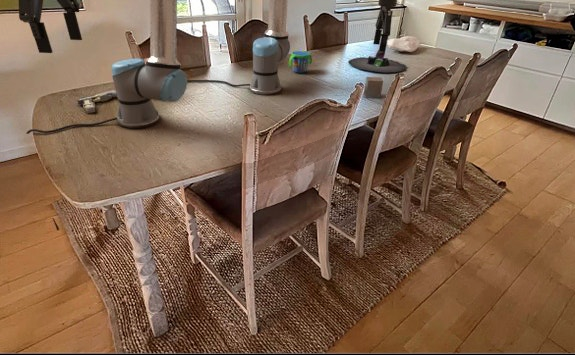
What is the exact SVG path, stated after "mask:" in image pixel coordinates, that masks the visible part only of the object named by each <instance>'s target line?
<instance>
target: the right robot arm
mask: <svg viewBox="0 0 575 355" xmlns="http://www.w3.org/2000/svg"><path fill="white" fill-rule="evenodd" d="M288 2H289V1H288V0H268V20H267V29H266V30H265V31H264V37H258V38H257V39H255V40H254V41H253V43H252V69H253V70H252V77H251V81H250V83H242V84H241V83H240V84H233V83H230V82H228V81H226V80H220V79H219V80H216V79H187V83H191V82H192V83H193V82H194V83H195V82H197V83H199V82H204V83H205V82H206V83H223V84H226V85H228V86H231V87H237V88H238V87H249V91H250V92H251V93H253V94H255V95H261V96H271V95H277V94H279V93H281V92H282V85H281V81H280V78H279V63H280V62H281V61H284V60H285V59H286V58H287V56H288V55H289V53H290V52H291V51H290V50H291V43H290V40H289V33H288V32H287V18H288V17H287V16H288V4H289V3H288ZM397 4H398V0H378V3H377V5H378V6H379V10H378V11H379V12H378V15H377V18H376V22H375V34H374V38H373V45H379V46H378V47H379V48H378V50H379V52H385V53H386V51H387V50H386V49H387V40H389V37H390V36H391V31H392V30H391V29H392V20H393V19H392V18H393V13H394V11H393V10H392V8H396V7H397Z"/></svg>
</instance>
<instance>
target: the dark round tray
mask: <svg viewBox="0 0 575 355" xmlns="http://www.w3.org/2000/svg"><path fill="white" fill-rule="evenodd" d="M385 55H386V51H385V52H379V49H378V50H377V52H376V53H375V55H374V56H371V55H369V56H368V57H365V56H364V57H362V56H360V57H355V58H351V59H349V60H348V61H347V63H348V64H349V65H350V66H352V67H354V68H356V69H358V70H364V71H369V72H376V73H385V74H386V73H399V72H402V71H404V70H406V68H407V65H406V64H404V63H402V62H401V63H400V62H399V61H395V60H392V59H389V58H388V57H385Z"/></svg>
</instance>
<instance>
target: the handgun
mask: <svg viewBox="0 0 575 355" xmlns="http://www.w3.org/2000/svg"><path fill="white" fill-rule="evenodd" d="M113 98H118V97H117V93H116V89H112V90H108V91H105V92H104V91H103V92H101V93H96V94H94V95H86V94H85V95H84V94H83V95H81V96H80V97H77V98H76V101H77V104H78V105H82V108H83V109H84V110H85V113H87V114H91V113H95V112H96V104H95V103H98V102H106V101H109V100H111V99H113Z"/></svg>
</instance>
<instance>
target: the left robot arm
mask: <svg viewBox="0 0 575 355" xmlns="http://www.w3.org/2000/svg"><path fill="white" fill-rule="evenodd" d="M56 2H57V4H59V6H60V7H61V8H62V9H63V10H64V12H62V14H63V18H64V21H65V25H66V28H67V32H68V36H69V40H70V41H82V40H83V37H82V33H81V29H80V26H79V21H78V18H77V13H80V4H79V2H78V0H56ZM43 5H44V0H18V19H19V20H20V21H21V22H23V23H27V24H29V28H30V31H31V33H32V36H33V38H34V41H35V44H36V47H37V50H38V54H39V53H40V54H53V51H54V50H53V48H52V45H51V41H50V39H49V35H48V32H47V28H46V26H45V22H44V21H41V19H42V12H43V7H44V6H43ZM149 21H150V22H149V32H150V33H149V34H150V35H149V36H150V38H149V39H150V44H149V45H150V46H149V48H150V51H149V53H150V56H149V57H148V59H147V60H146V65H145V61H144V58H129V59H123V60H120V61H116V62H114V63H113V64H112V65H111V68H110V69H111V76H112V81H113V84H114V90H115V91H116V93H117V97H116V98H117V101H118V108H117V115H116V116H115V117H113V118H108V119H105V120H102V121H99V122H94V123H73V124H69V125H64V126H61V127H57V128H54V129H51V130H50V129H49V130H44V129H43V130H42V129H38V128H31V129H29V130H28V131H26V135H28V134H31V133H32V132H37V133H43V134H51V133H55V132H59V131H62V130H65V129H69V128H73V127H92V126H99V125H102V124H106V123H108V122H109V123H110V122H112V121H116V120H117V124H118V125H119V126H120V127H122V128H125V129H143V128H149V127H151V126H153V125H155V124H157V123H158V122H159V121H160V114H159V110H157V108H156V106H155V104H154V102H153V101H152V100H154V101H155V100H156V101H161V102H164V103H167V102H168V103H176V102H179V101H180V100H181V99H182V98H183V96H184V95H185V93H186V90H187V86H188V82H187V80H188V77H187V74H186V72H185V71H184V70H182V69H181V63H180V62H179V61H178V59H177V34H178V33H177V32H178V30H177V29H178V28H177V26H178V25H177V24H178V0H149ZM52 220H53V224H54V226H55V228H56V231H60V227H59V226H58V224H57V222H56V220H55V218H54V217H52Z"/></svg>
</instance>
